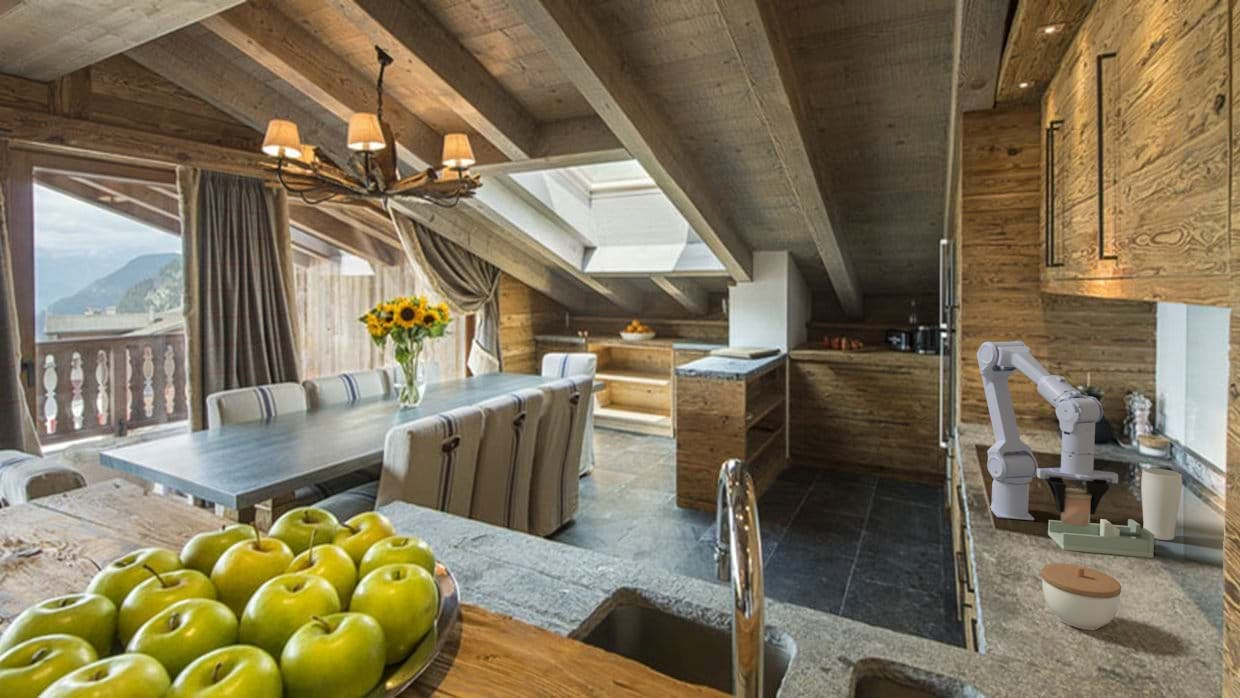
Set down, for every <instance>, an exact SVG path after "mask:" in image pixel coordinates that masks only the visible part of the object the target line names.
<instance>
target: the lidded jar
mask: <svg viewBox="0 0 1240 698" xmlns="http://www.w3.org/2000/svg"><path fill="white" fill-rule="evenodd" d="M1040 571H1041V588H1042V594H1043V598H1044V600H1045V603H1046V605H1047V606H1048V608H1049V609H1050V611H1051V612H1052V613H1053V614H1054V615H1055V616H1056V618H1057V619H1058V620H1059V621H1060V622H1061V621H1062V623H1063V622H1064V623H1063V624H1065V623H1066V624H1065V625H1067V624H1068V625H1067V626H1069V625H1071V626H1070V627H1072V626H1074V627H1073V628H1075V627H1078V628H1083V629H1098V628H1100V627H1101V628H1102V627H1103V626H1105V625H1107V624H1110V623H1111V621H1113V619H1114V618H1115V617H1116V615H1117V614H1118V613H1117V612H1118V610H1119V605H1120V601H1121V600H1120V599H1121V592H1122V585H1121V583H1120V581H1118V580H1117V579H1116V578H1114V577H1113V576H1111V575H1109V574H1107V573H1105V572H1102V571H1100V570H1096V569H1094V568H1090V567H1087V566H1082V565H1078V564H1072V563H1071V564H1070V563H1050V564H1047V565H1044V566H1043V567H1042V568H1041V570H1040ZM1078 628H1077V629H1078ZM1101 628H1100V629H1101ZM1083 629H1082V630H1083ZM1098 630H1099V629H1098Z"/></svg>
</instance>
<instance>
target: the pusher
mask: <svg viewBox="0 0 1240 698" xmlns="http://www.w3.org/2000/svg"><path fill="white" fill-rule="evenodd" d="M1099 524H1100V536H1111V537H1119V536H1130V537H1140V538H1141V532H1140V533H1139V532H1126V531H1120V530H1119V529H1118V528H1116V527H1115V526H1114V525H1115V524H1112V523H1111V522H1110V521H1108V519H1106V518H1105V519H1104V518H1100V521H1099Z"/></svg>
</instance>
